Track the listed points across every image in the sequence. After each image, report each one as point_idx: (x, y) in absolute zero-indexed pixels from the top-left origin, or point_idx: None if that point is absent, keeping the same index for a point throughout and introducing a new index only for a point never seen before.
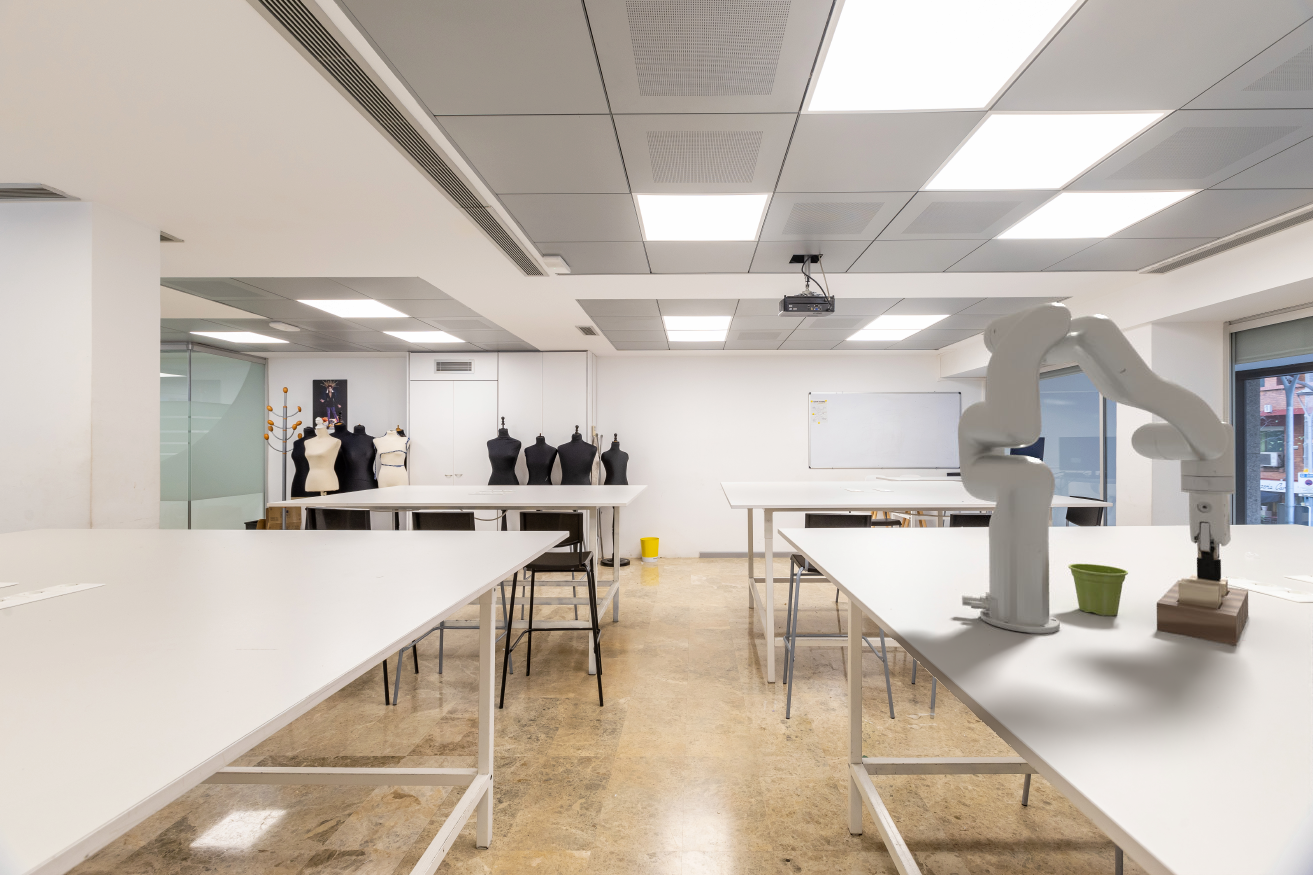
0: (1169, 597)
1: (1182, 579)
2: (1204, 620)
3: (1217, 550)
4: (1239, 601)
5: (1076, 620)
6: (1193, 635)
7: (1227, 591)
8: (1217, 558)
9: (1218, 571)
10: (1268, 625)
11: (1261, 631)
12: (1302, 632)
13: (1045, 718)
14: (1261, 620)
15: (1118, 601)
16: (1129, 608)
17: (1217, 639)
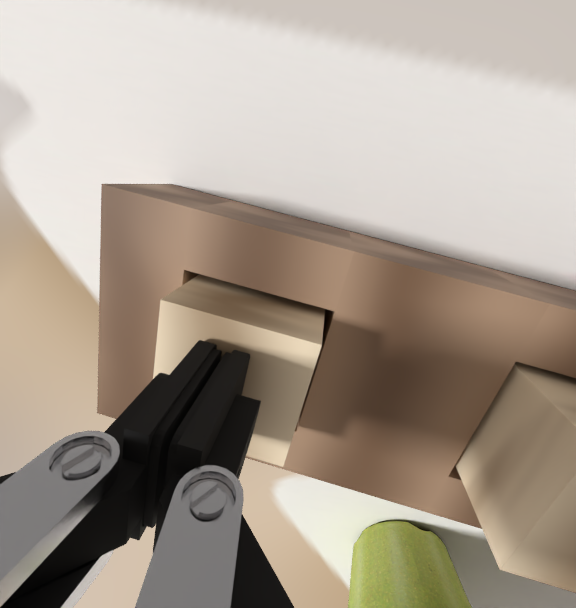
0: None
1: (548, 580)
2: None
3: (184, 587)
4: (445, 287)
5: (532, 604)
6: None
7: (207, 283)
8: (193, 477)
9: (234, 391)
10: (290, 146)
11: (409, 192)
12: (338, 40)
13: None
14: (219, 154)
15: (439, 570)
16: (310, 481)
17: None
